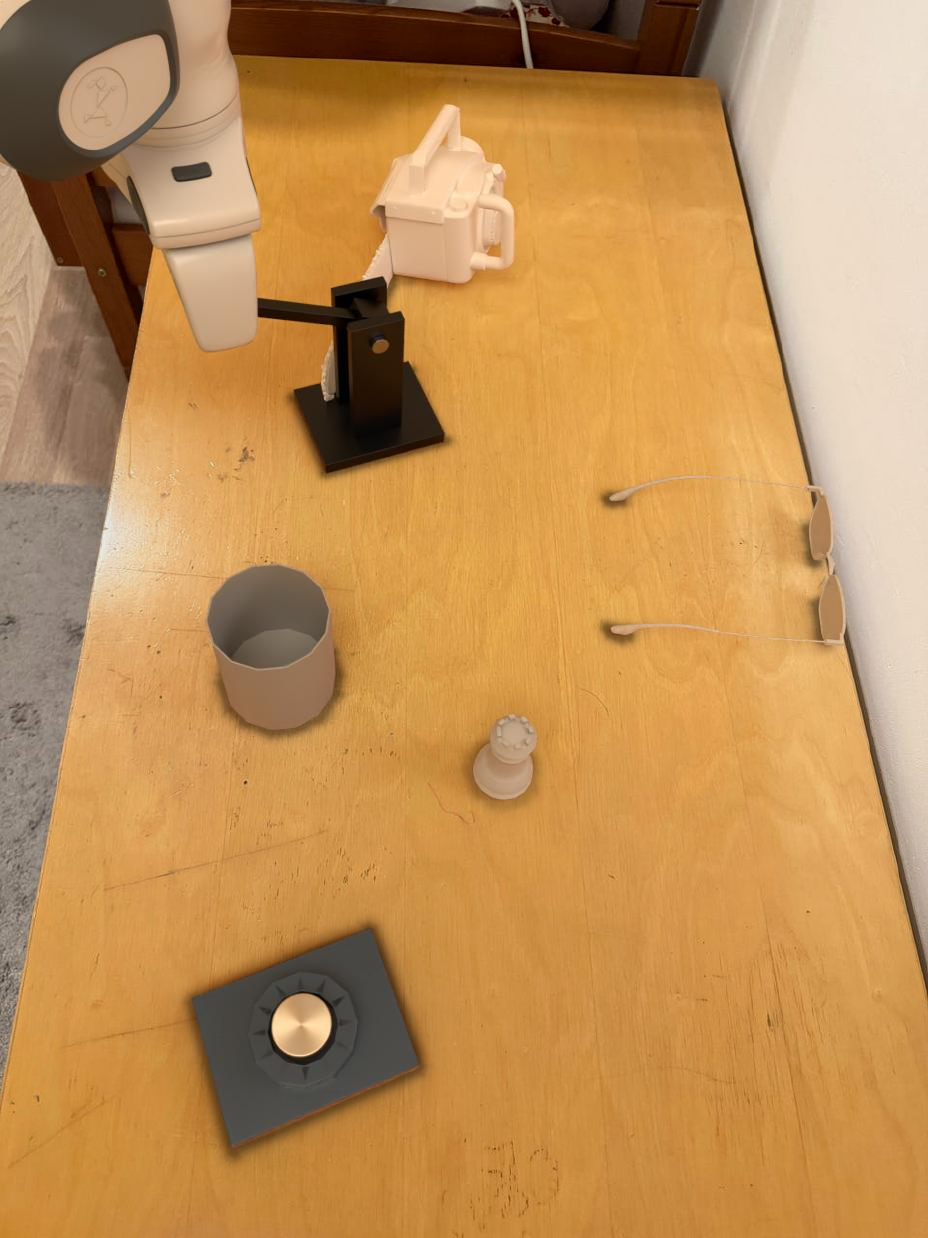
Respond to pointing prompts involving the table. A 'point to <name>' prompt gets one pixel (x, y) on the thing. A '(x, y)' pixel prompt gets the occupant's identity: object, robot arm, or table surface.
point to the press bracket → (368, 390)
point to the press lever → (320, 311)
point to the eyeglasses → (821, 548)
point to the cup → (273, 645)
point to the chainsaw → (439, 215)
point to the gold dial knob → (302, 1026)
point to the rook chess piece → (506, 758)
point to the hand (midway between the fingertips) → (198, 305)
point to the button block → (294, 1089)
